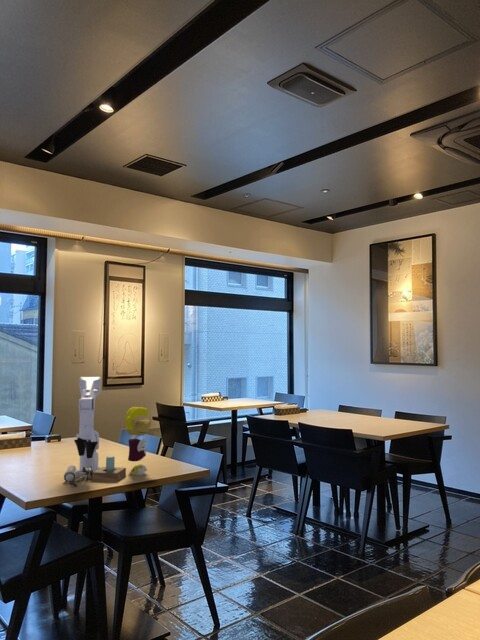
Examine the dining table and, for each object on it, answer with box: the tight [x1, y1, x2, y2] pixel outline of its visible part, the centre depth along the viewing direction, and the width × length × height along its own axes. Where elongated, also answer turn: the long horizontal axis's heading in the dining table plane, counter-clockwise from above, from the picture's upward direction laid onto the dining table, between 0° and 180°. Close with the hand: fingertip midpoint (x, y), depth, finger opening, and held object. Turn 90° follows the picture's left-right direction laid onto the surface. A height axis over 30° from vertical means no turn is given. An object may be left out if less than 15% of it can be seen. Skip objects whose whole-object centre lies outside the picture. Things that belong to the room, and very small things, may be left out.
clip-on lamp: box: [63, 464, 94, 487], centre depth 214 cm, size 12×6×18 cm
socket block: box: [91, 466, 127, 482], centre depth 220 cm, size 11×11×4 cm
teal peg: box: [105, 455, 116, 471], centre depth 221 cm, size 4×4×9 cm
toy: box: [124, 406, 152, 476], centre depth 234 cm, size 22×12×30 cm, turn 9°
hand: (85, 456), depth 220 cm, fingers open, 7 cm apart
